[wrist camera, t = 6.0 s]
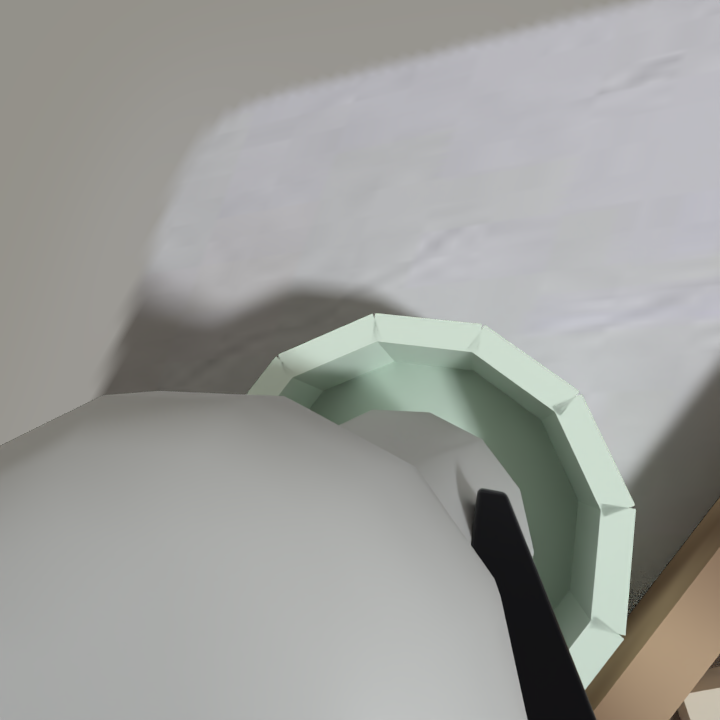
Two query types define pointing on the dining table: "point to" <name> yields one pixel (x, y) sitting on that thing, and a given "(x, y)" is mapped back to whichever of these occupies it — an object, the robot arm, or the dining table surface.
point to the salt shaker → (249, 565)
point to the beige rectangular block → (703, 698)
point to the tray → (666, 635)
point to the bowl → (493, 448)
